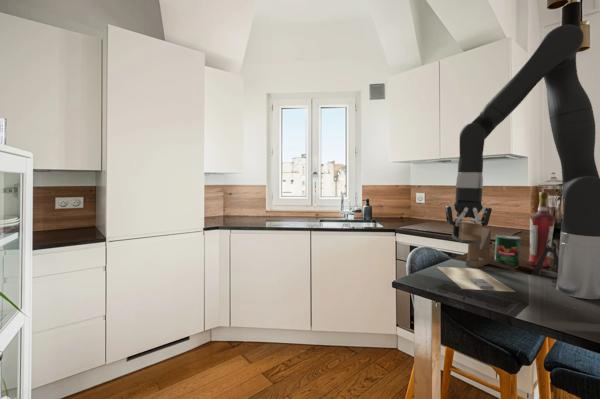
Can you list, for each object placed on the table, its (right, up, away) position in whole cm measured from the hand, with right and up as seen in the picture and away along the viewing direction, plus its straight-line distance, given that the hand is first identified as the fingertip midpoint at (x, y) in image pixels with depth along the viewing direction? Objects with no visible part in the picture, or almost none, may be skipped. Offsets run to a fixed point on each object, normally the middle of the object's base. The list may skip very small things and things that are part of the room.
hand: (466, 237), depth 100 cm
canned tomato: (+24, -13, +16) cm, 31 cm away
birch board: (-1, -13, -5) cm, 14 cm away
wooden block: (+10, -13, +11) cm, 20 cm away
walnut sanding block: (0, -1, 0) cm, 1 cm away
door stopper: (+30, -13, +4) cm, 33 cm away
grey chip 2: (-2, -12, -13) cm, 18 cm away
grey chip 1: (-2, -12, -10) cm, 16 cm away
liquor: (+36, -13, +15) cm, 41 cm away
